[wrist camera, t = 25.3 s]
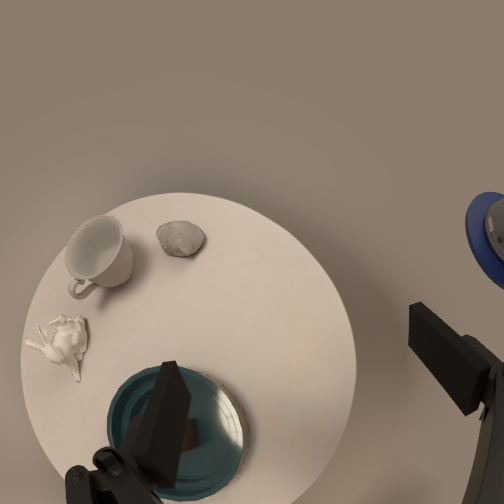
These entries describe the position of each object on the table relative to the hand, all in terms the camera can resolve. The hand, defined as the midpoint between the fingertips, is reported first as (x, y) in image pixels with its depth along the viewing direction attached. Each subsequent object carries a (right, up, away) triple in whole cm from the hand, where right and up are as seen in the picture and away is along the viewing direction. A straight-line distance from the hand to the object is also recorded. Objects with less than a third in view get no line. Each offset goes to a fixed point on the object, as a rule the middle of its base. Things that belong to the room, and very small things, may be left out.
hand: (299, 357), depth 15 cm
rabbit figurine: (-35, -12, +31) cm, 49 cm away
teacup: (-27, +1, +37) cm, 46 cm away
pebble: (-15, +7, +38) cm, 42 cm away
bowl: (-12, -21, +22) cm, 33 cm away
